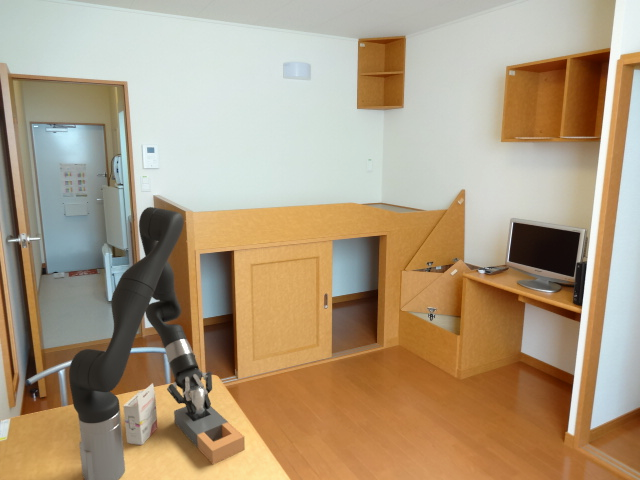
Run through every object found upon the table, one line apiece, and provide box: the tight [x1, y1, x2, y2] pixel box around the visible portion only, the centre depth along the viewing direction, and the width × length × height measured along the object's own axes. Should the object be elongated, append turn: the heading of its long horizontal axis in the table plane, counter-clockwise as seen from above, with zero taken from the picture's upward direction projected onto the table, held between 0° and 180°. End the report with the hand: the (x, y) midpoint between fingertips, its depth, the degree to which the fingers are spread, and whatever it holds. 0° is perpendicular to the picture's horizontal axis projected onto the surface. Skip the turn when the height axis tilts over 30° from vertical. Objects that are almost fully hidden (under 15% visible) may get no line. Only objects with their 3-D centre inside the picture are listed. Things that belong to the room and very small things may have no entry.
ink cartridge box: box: [123, 383, 158, 446], centre depth 134 cm, size 9×5×15 cm, turn 168°
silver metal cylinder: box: [190, 386, 205, 422], centre depth 139 cm, size 4×4×12 cm
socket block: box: [173, 405, 246, 465], centre depth 135 cm, size 10×24×4 cm, turn 40°
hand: (201, 410), depth 137 cm, fingers closed on silver metal cylinder, 4 cm apart
